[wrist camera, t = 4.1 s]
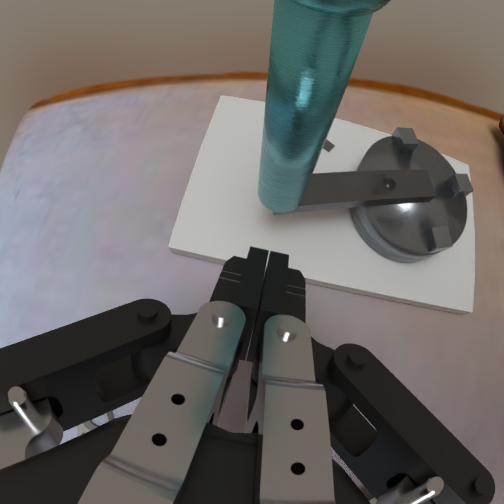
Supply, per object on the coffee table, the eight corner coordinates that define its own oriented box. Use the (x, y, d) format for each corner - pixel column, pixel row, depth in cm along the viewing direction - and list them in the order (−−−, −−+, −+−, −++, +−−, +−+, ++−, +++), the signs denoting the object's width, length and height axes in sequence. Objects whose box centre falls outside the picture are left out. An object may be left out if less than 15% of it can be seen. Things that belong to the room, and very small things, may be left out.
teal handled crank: (427, 156, 23) (551, -2, 5) (458, 255, 21) (650, 140, 3) (241, 163, 23) (242, -114, 4) (258, 285, 20) (342, -49, 2)
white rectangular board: (460, 172, 25) (469, 164, 24) (461, 314, 22) (473, 312, 20) (222, 106, 26) (221, 93, 24) (172, 252, 22) (167, 246, 21)
